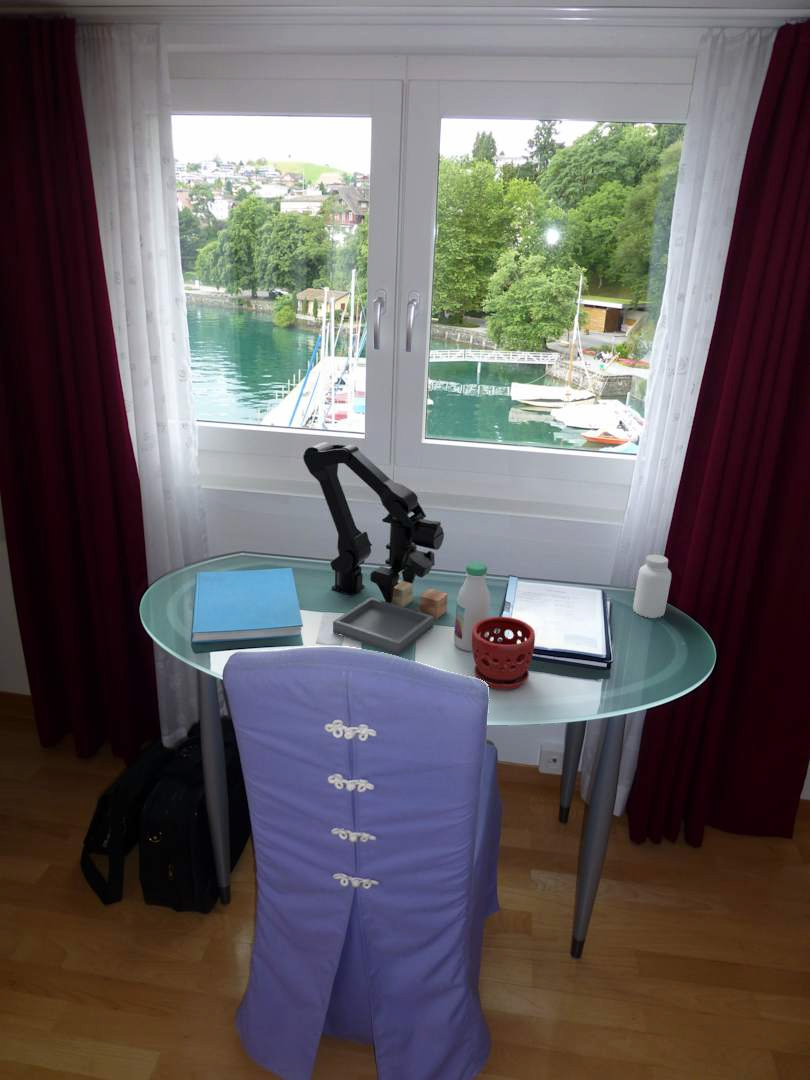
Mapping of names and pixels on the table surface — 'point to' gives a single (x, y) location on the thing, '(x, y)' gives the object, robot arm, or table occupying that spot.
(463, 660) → the table surface
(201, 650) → the table surface
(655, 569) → the pill bottle
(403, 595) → the birch block
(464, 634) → the milk bottle
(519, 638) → the plant pot
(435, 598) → the terracotta block
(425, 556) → the robot arm
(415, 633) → the charcoal tray
